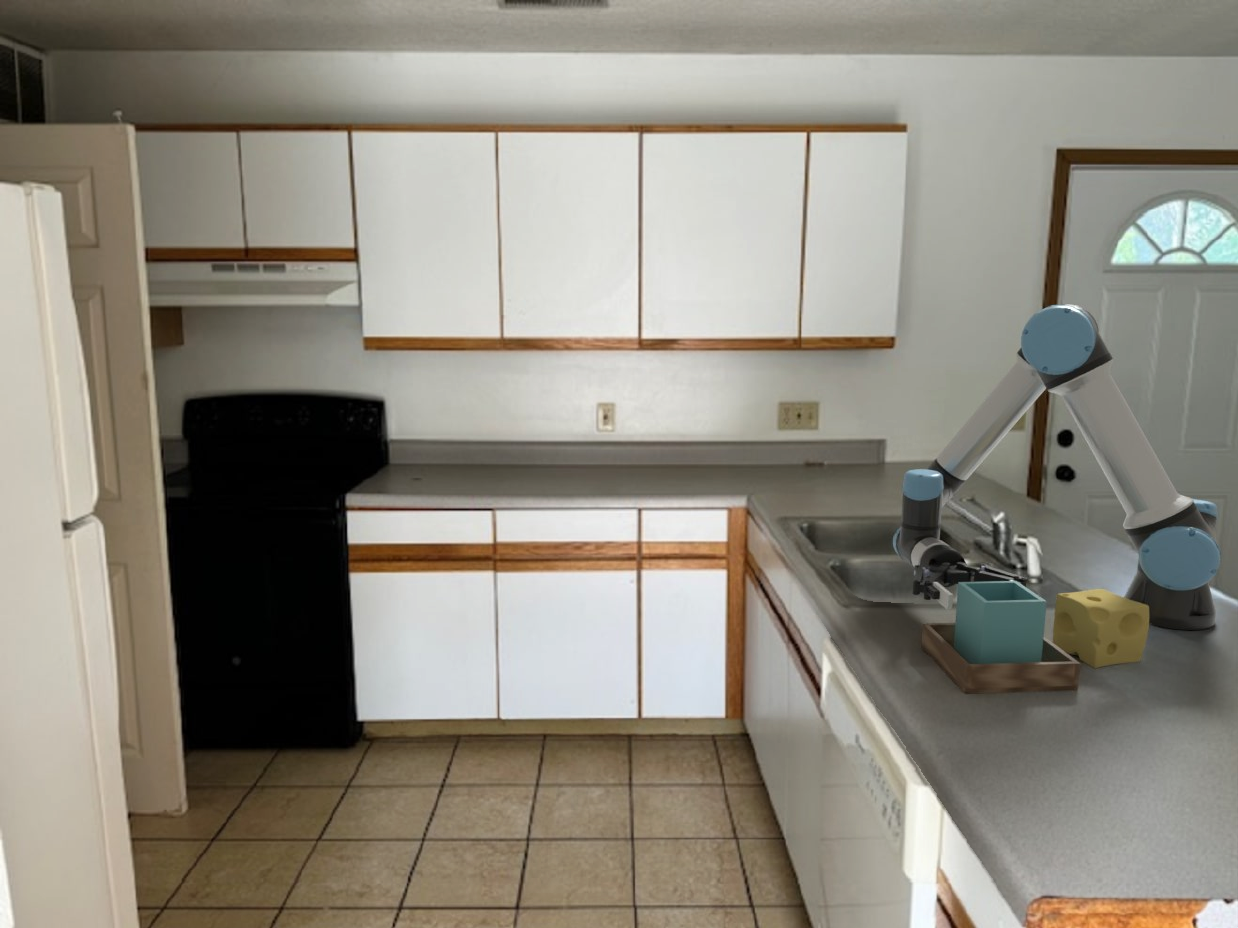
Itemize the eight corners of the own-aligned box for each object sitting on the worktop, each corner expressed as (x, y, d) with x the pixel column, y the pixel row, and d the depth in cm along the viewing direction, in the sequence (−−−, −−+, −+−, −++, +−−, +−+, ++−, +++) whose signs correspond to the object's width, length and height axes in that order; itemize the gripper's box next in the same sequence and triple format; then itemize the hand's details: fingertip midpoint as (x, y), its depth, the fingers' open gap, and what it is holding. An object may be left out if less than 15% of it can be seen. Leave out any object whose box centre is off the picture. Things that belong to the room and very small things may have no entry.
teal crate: (1010, 650, 154) (1016, 580, 151) (1040, 675, 144) (1046, 601, 142) (953, 651, 153) (958, 582, 151) (978, 676, 144) (984, 602, 141)
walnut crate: (1021, 645, 158) (1023, 621, 157) (1077, 690, 140) (1080, 663, 139) (921, 647, 157) (922, 623, 156) (964, 693, 140) (966, 666, 139)
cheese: (1094, 669, 148) (1100, 612, 146) (1047, 645, 158) (1052, 591, 156) (1145, 662, 151) (1152, 605, 149) (1096, 638, 161) (1101, 585, 159)
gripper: (1001, 580, 172) (1060, 620, 151) (873, 583, 171) (915, 624, 150) (1004, 542, 170) (1064, 577, 150) (875, 545, 169) (918, 581, 148)
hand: (990, 601), depth 150 cm, fingers open, 13 cm apart
